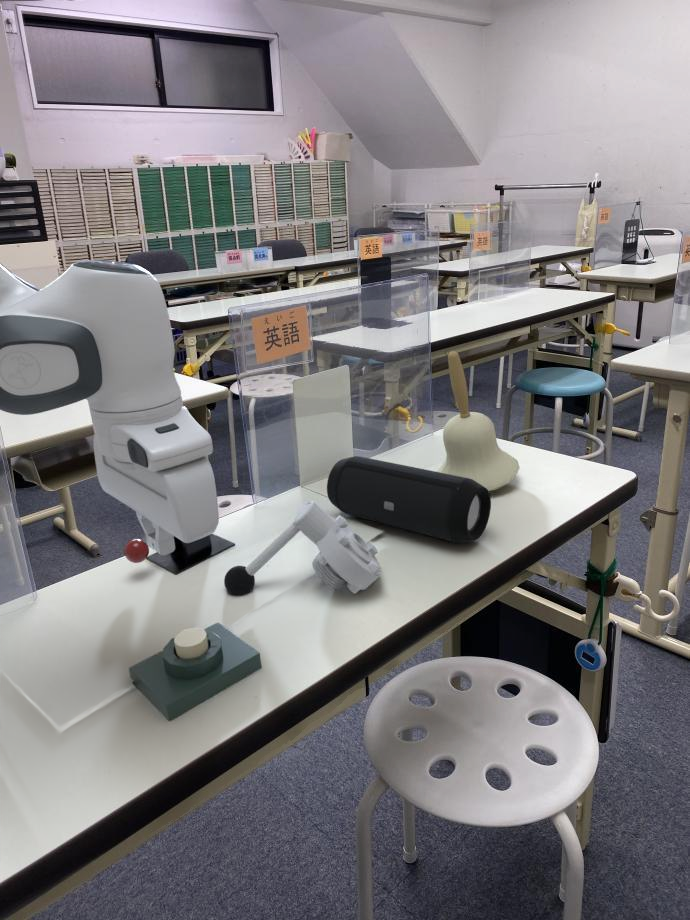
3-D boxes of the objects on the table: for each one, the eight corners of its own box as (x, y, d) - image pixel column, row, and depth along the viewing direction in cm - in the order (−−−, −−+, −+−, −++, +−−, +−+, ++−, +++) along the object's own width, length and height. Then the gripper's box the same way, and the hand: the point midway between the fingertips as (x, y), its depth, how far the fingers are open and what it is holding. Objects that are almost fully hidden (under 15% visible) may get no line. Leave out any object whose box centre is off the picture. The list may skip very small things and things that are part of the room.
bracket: (176, 580, 99) (163, 507, 95) (147, 564, 104) (132, 493, 100) (236, 550, 107) (226, 480, 102) (205, 536, 112) (194, 469, 108)
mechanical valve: (390, 582, 89) (308, 507, 86) (295, 668, 92) (212, 599, 89) (383, 550, 99) (309, 481, 96) (297, 628, 102) (222, 564, 99)
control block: (169, 722, 72) (163, 692, 71) (131, 683, 79) (125, 654, 77) (262, 668, 79) (258, 639, 78) (220, 636, 86) (216, 609, 84)
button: (186, 664, 75) (184, 651, 75) (170, 650, 78) (168, 637, 77) (214, 649, 78) (212, 636, 77) (198, 636, 80) (195, 623, 79)
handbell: (536, 483, 119) (514, 346, 109) (455, 512, 117) (426, 375, 107) (497, 453, 133) (475, 330, 123) (425, 478, 131) (396, 355, 121)
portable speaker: (325, 520, 114) (321, 465, 110) (360, 498, 121) (356, 445, 118) (463, 558, 99) (463, 496, 96) (493, 530, 107) (494, 471, 103)
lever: (142, 570, 97) (127, 557, 95) (129, 563, 99) (115, 550, 97) (200, 500, 102) (188, 486, 100) (187, 495, 105) (175, 481, 102)
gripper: (69, 415, 74) (94, 529, 79) (159, 460, 59) (182, 596, 64) (124, 401, 78) (144, 511, 83) (221, 440, 63) (238, 571, 68)
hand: (161, 549), depth 73 cm, fingers closed
